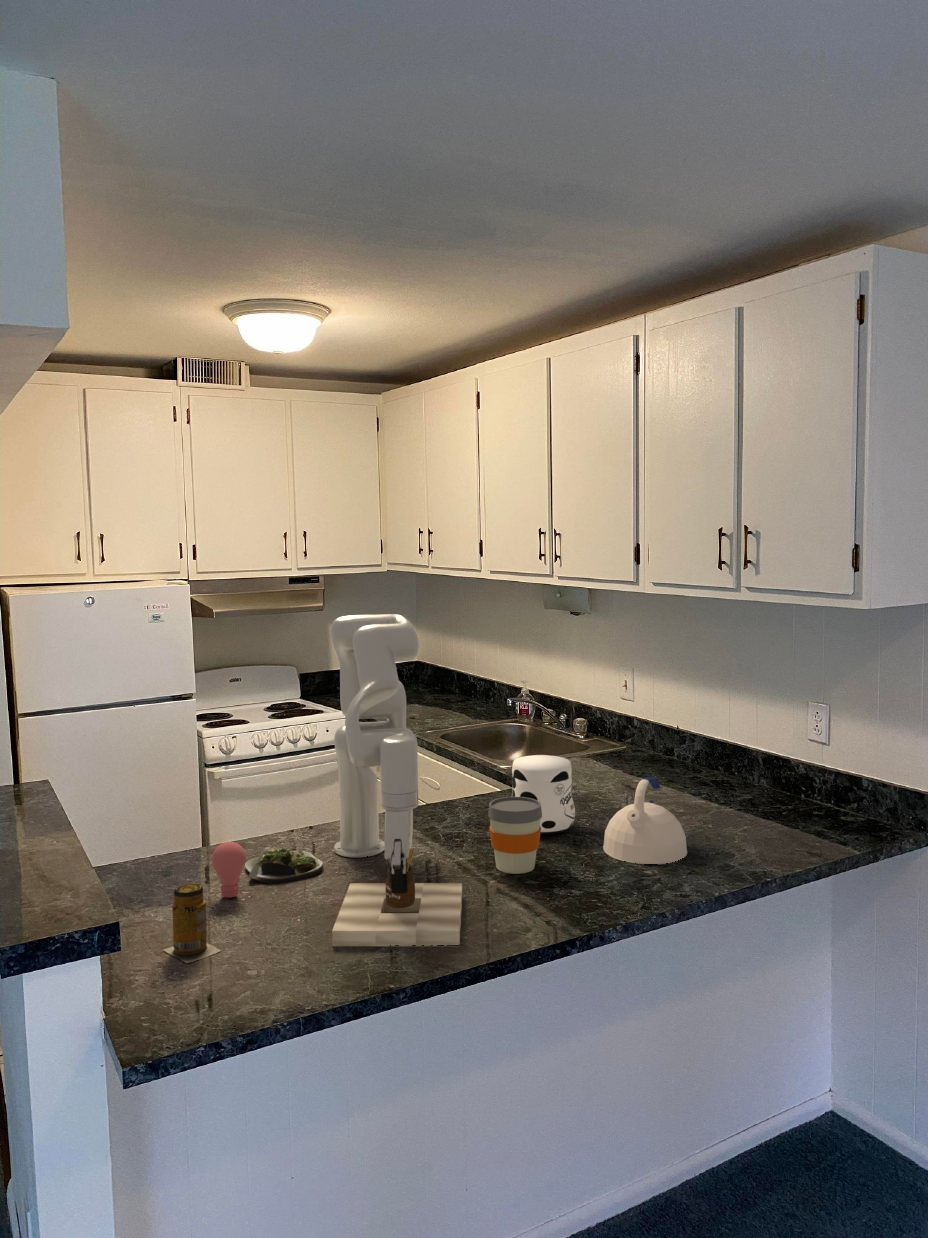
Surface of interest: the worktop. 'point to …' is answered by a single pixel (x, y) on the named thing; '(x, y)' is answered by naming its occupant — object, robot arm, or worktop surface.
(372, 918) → the socket board
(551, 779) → the milk container
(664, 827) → the kettle
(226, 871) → the light bulb
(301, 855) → the salad plate
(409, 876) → the utensil holder
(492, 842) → the reusable coffee cup
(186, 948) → the condiment
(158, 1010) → the worktop surface
